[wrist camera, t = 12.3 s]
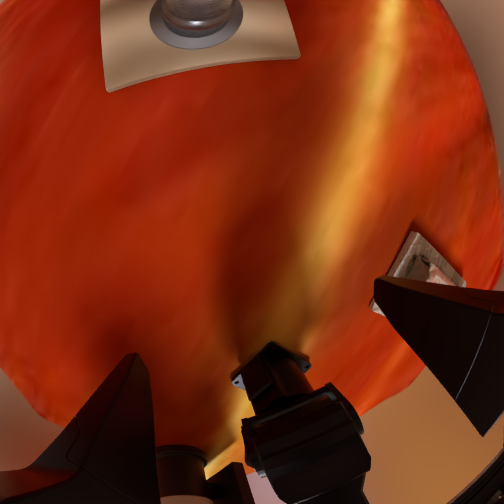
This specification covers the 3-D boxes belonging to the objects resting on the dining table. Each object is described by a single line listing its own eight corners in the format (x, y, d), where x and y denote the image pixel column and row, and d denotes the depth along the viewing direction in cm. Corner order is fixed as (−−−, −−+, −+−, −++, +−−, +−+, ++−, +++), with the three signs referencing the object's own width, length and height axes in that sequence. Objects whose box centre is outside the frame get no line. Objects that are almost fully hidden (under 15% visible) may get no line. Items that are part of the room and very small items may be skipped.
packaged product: (482, 291, 28) (448, 349, 30) (460, 279, 33) (429, 333, 34) (439, 239, 22) (390, 327, 24) (408, 227, 26) (364, 305, 28)
